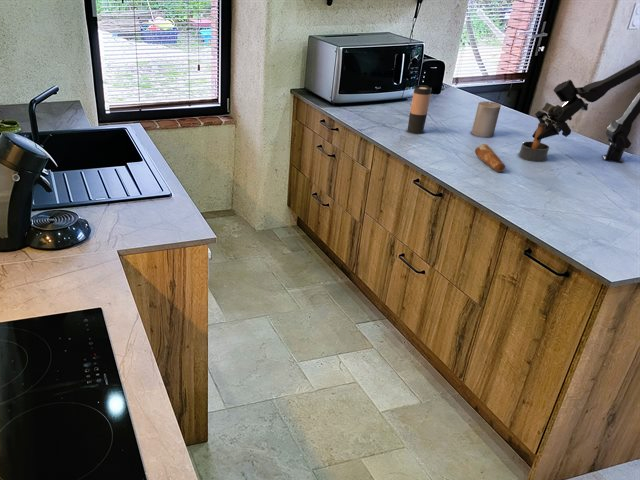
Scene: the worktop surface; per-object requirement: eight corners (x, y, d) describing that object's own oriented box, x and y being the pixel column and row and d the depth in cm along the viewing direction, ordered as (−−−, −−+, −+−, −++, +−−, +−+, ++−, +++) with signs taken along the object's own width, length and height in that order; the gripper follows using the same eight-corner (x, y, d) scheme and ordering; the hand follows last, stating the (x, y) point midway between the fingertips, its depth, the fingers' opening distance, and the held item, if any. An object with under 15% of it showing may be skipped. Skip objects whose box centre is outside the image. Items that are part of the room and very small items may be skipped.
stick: (529, 152, 249) (538, 122, 242) (537, 153, 248) (545, 123, 241) (529, 154, 247) (538, 124, 240) (536, 155, 246) (545, 125, 239)
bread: (487, 156, 248) (490, 143, 245) (506, 173, 232) (510, 159, 229) (472, 156, 247) (475, 143, 244) (490, 173, 231) (494, 159, 228)
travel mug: (405, 132, 273) (413, 88, 263) (408, 128, 279) (415, 84, 268) (422, 134, 271) (430, 90, 260) (424, 130, 277) (433, 86, 266)
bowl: (519, 151, 254) (522, 140, 251) (545, 155, 250) (549, 143, 248) (518, 159, 246) (521, 147, 243) (545, 163, 242) (549, 151, 240)
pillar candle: (482, 130, 279) (490, 97, 271) (498, 136, 272) (506, 102, 263) (466, 132, 275) (474, 99, 267) (482, 138, 268) (490, 105, 260)
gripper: (546, 90, 243) (513, 118, 247) (573, 102, 227) (538, 131, 232) (557, 109, 248) (526, 136, 253) (585, 122, 232) (551, 150, 237)
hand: (534, 138), depth 243 cm, fingers closed on stick, 3 cm apart
